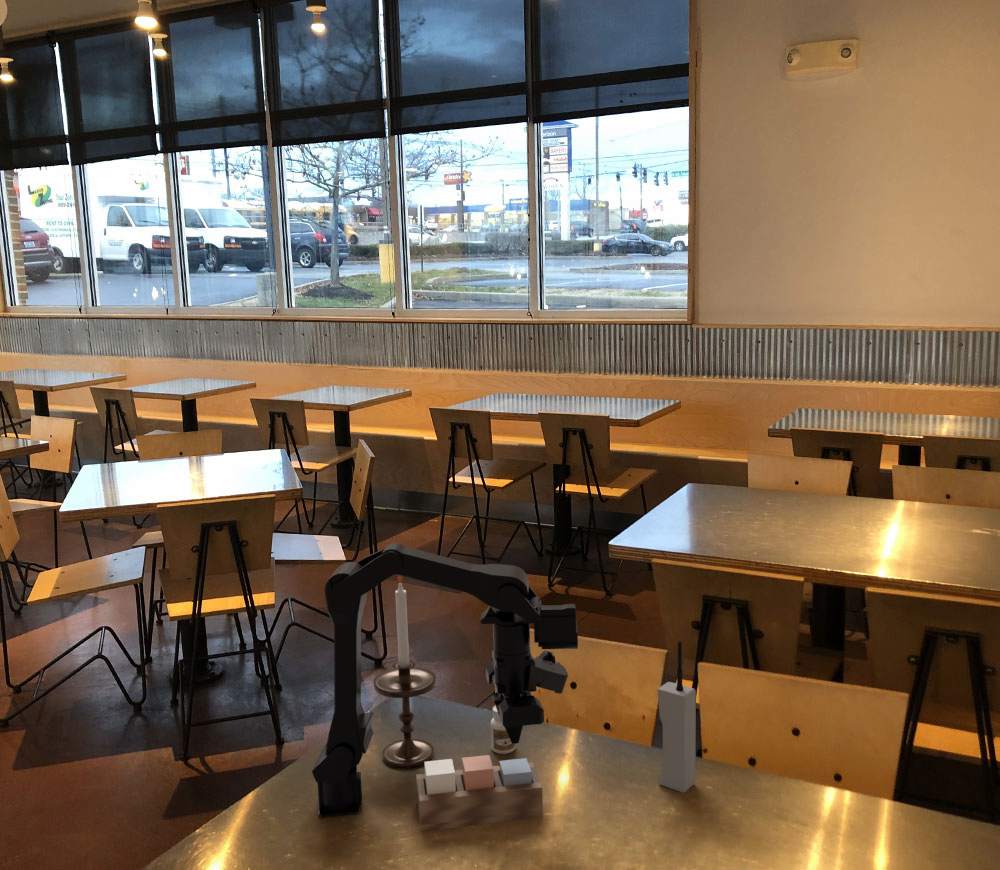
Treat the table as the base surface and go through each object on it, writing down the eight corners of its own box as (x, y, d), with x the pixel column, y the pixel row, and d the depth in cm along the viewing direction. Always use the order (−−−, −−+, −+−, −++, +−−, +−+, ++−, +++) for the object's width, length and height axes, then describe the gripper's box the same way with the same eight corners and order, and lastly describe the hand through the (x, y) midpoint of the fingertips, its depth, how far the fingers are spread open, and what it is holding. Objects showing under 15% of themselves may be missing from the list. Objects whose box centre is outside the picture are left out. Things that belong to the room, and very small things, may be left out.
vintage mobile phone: (668, 775, 158) (668, 633, 154) (695, 784, 154) (696, 639, 151) (657, 784, 155) (657, 640, 151) (684, 794, 152) (684, 647, 148)
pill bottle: (494, 756, 166) (493, 715, 164) (488, 745, 170) (487, 704, 169) (518, 752, 167) (517, 711, 166) (511, 741, 171) (510, 701, 170)
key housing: (421, 831, 143) (419, 800, 143) (417, 803, 151) (416, 774, 150) (542, 817, 146) (542, 787, 145) (533, 790, 154) (532, 762, 153)
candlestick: (449, 759, 165) (442, 567, 159) (393, 777, 159) (383, 579, 154) (421, 735, 174) (413, 553, 169) (367, 751, 169) (357, 563, 163)
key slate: (504, 798, 147) (503, 774, 146) (500, 784, 151) (499, 760, 150) (532, 795, 147) (531, 771, 147) (526, 781, 152) (526, 758, 151)
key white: (427, 799, 145) (426, 775, 144) (425, 785, 149) (424, 761, 148) (455, 796, 145) (455, 772, 145) (452, 782, 150) (451, 758, 149)
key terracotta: (466, 795, 146) (465, 771, 145) (462, 781, 150) (461, 757, 149) (494, 792, 146) (493, 768, 146) (490, 778, 151) (489, 754, 150)
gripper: (576, 667, 138) (578, 766, 140) (550, 623, 156) (552, 711, 158) (501, 674, 136) (505, 774, 138) (484, 629, 154) (487, 718, 157)
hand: (514, 742), depth 148 cm, fingers closed
